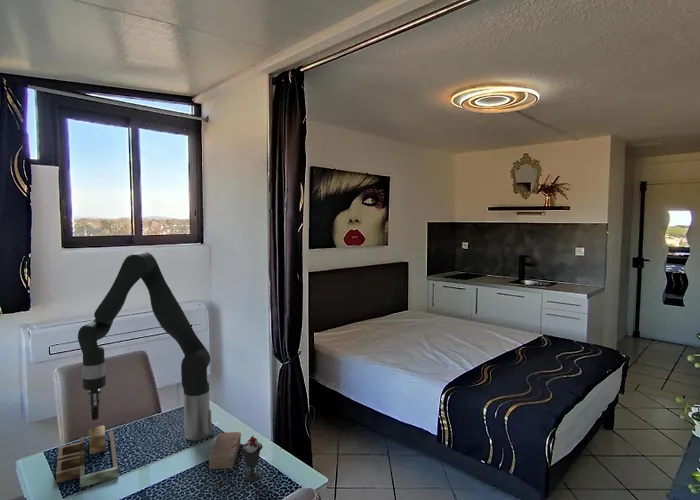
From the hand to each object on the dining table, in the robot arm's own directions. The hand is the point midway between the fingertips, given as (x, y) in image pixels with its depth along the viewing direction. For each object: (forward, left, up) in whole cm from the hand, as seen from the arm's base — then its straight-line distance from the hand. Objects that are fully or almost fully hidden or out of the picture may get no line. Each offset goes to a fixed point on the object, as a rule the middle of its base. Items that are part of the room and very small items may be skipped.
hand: (95, 418), depth 163 cm
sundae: (-42, +56, -7) cm, 71 cm away
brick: (-39, +39, -7) cm, 55 cm away
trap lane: (+3, +19, -7) cm, 21 cm away
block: (0, +10, -7) cm, 12 cm away
